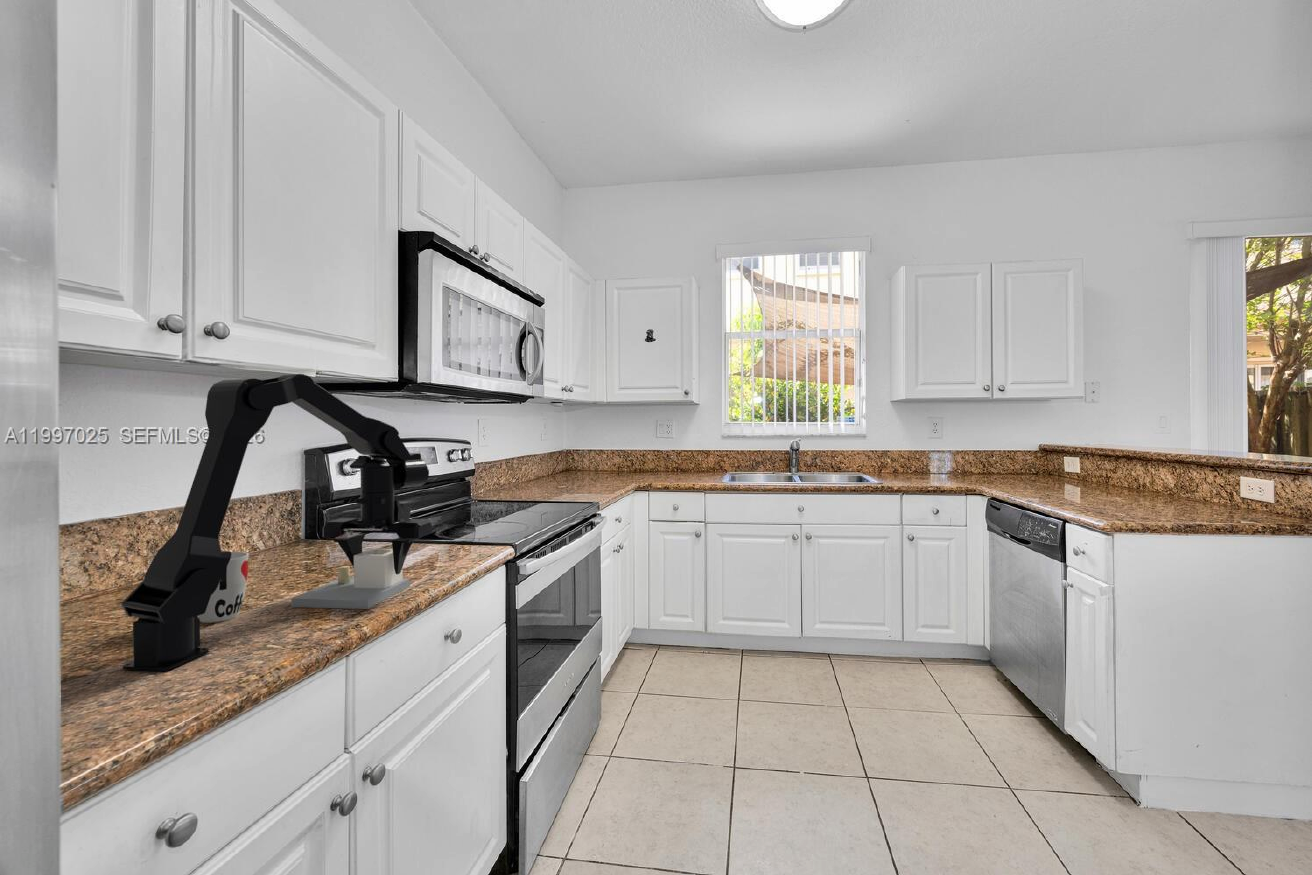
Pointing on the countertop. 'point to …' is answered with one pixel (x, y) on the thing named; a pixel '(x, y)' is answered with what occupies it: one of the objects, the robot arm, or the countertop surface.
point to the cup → (228, 591)
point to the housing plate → (346, 593)
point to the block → (375, 569)
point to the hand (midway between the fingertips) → (378, 573)
